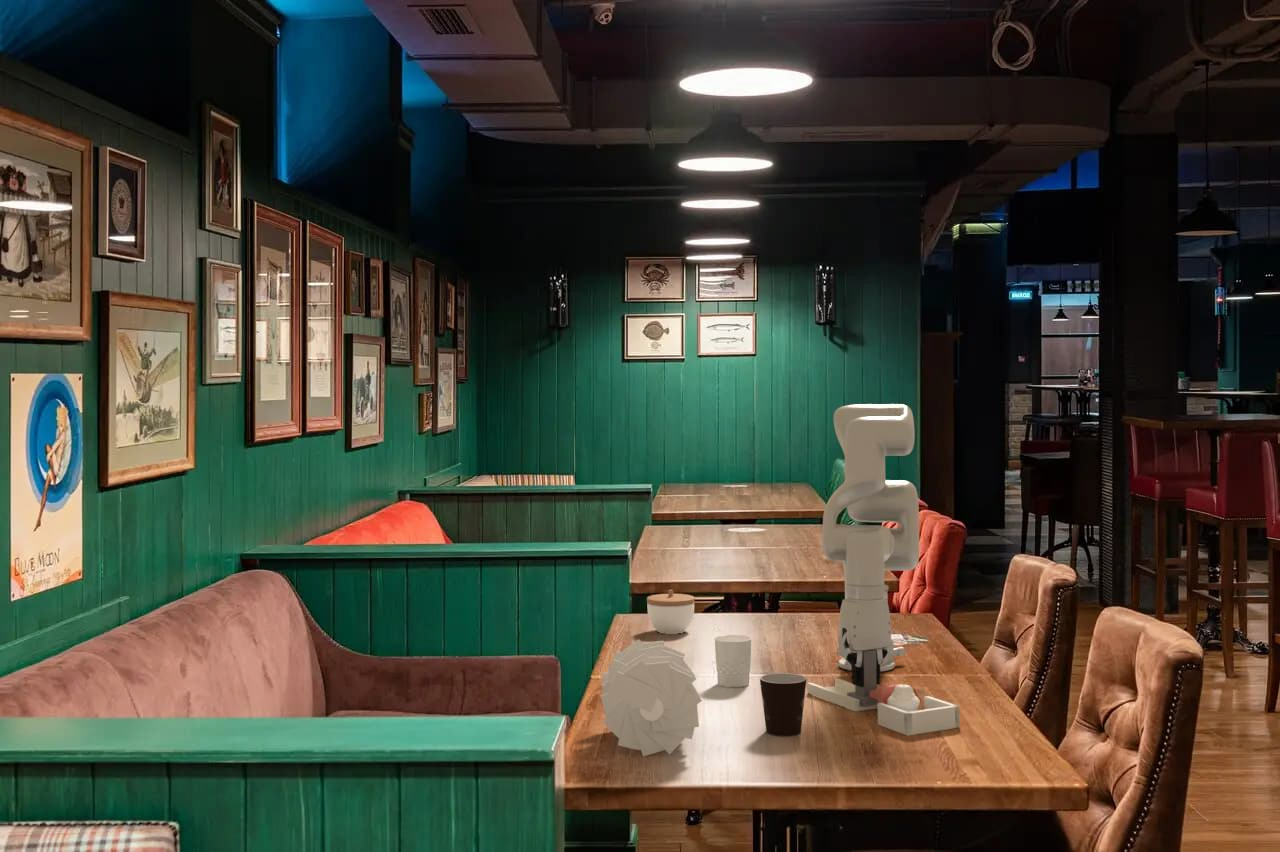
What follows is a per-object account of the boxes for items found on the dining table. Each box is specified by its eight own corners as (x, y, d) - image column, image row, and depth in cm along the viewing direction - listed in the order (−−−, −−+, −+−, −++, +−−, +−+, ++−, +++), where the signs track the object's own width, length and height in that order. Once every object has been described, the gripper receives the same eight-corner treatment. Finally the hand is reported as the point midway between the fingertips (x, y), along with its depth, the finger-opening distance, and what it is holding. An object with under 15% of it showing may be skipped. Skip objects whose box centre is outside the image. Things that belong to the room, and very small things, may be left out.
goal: (928, 716, 249) (928, 696, 249) (959, 727, 241) (959, 706, 241) (877, 724, 243) (877, 703, 243) (907, 735, 235) (907, 713, 235)
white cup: (749, 689, 273) (749, 642, 273) (712, 687, 275) (712, 641, 275) (753, 680, 281) (753, 635, 281) (717, 679, 283) (717, 634, 282)
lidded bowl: (695, 636, 333) (695, 593, 332) (646, 636, 333) (646, 594, 333) (694, 627, 345) (693, 586, 345) (647, 627, 345) (646, 586, 345)
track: (839, 689, 272) (839, 678, 272) (888, 706, 257) (888, 695, 257) (807, 693, 269) (807, 683, 269) (855, 711, 253) (855, 700, 253)
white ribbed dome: (884, 716, 249) (884, 680, 249) (915, 716, 250) (915, 680, 249) (891, 724, 243) (890, 687, 243) (923, 723, 243) (923, 686, 243)
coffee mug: (794, 740, 233) (794, 685, 233) (752, 734, 238) (751, 680, 238) (821, 725, 243) (820, 673, 243) (779, 719, 248) (779, 668, 247)
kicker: (867, 696, 261) (867, 645, 260) (903, 709, 250) (903, 656, 250) (846, 699, 258) (846, 648, 258) (881, 712, 248) (881, 658, 248)
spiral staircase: (669, 745, 245) (678, 778, 220) (585, 707, 245) (584, 736, 220) (709, 657, 246) (723, 680, 221) (625, 619, 246) (629, 638, 221)
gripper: (887, 586, 263) (888, 676, 264) (820, 593, 256) (820, 685, 257) (910, 591, 256) (911, 683, 257) (841, 598, 249) (842, 693, 250)
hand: (866, 683), depth 257 cm, fingers closed on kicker, 3 cm apart
